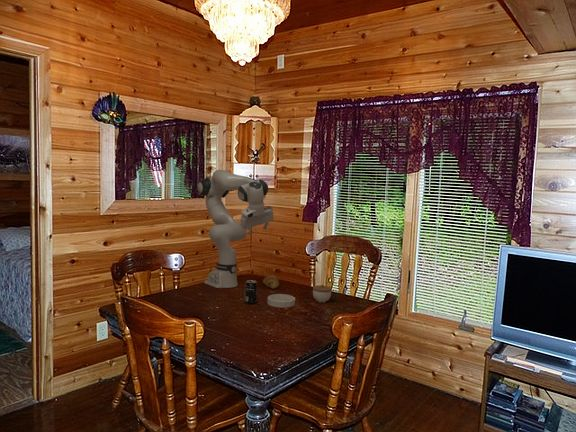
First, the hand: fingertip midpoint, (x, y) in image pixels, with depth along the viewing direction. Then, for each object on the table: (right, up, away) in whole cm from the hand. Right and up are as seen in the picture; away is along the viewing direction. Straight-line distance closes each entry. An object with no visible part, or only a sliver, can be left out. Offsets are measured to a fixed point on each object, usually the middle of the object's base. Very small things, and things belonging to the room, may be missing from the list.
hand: (258, 231), depth 245 cm
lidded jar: (+37, -40, -5) cm, 55 cm away
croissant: (+6, -36, +24) cm, 44 cm away
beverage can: (-3, -39, -14) cm, 42 cm away
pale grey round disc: (+14, -40, -13) cm, 44 cm away
